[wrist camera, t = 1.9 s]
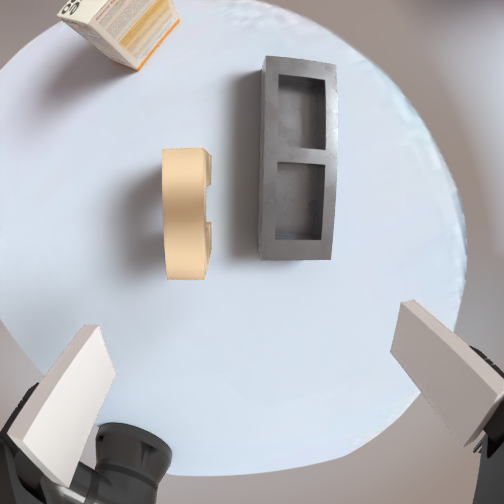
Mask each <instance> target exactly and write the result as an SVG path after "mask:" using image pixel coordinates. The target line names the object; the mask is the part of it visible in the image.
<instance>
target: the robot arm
mask: <svg viewBox="0 0 504 504" xmlns="http://www.w3.org/2000/svg"><path fill="white" fill-rule="evenodd" d="M390 352H391V354H392V355H393V356H394V358H395V359H396V360H397V361H398V363H399V364H400V365H401V367H402V368H403V369H404V370H405V372H406V373H407V374H408V376H409V377H410V378H411V379H412V381H413V382H414V383H415V385H416V386H417V387H418V389H419V390H420V391H421V393H422V394H423V395H424V397H425V398H426V399H427V401H428V402H429V403H430V405H431V406H432V408H433V409H434V410H435V412H436V413H437V414H438V416H439V417H440V418H441V420H442V421H443V423H444V424H445V426H446V427H447V429H448V430H449V431H450V433H451V434H452V436H453V437H454V438H455V440H456V441H457V443H458V444H459V446H460V447H461V448H463V447H465V446H467V445H468V444H470V443H471V442H473V441H474V440H475V439H476V438H477V437H478V436H479V434H480V433H481V431H482V430H484V431H485V432H486V434H485V435H484V437H483V438H482V439H481V440H480V442H479V443H478V444H477V445H476V447H475V448H474V451H473V452H474V453H475V452H476V451H477V450H478V449H479V447H480V446H481V445H482V448H481V449H480V451H479V453H481V459H480V467H479V474H478V480H477V485H476V490H475V495H474V499H473V504H504V373H503V372H502V371H501V370H500V369H499V368H498V367H497V366H496V365H493V362H492V361H490V360H489V359H487V357H486V356H485V355H484V354H483V353H482V352H481V351H479V350H478V349H476V348H474V347H472V346H468V345H467V344H465V343H464V342H463V341H462V340H461V339H460V338H459V337H458V336H456V335H455V334H454V333H453V332H452V331H451V330H450V329H448V328H447V327H446V326H445V325H444V324H443V323H441V322H440V321H439V320H438V319H437V318H435V317H434V316H433V315H432V314H431V313H429V312H428V311H427V310H426V309H425V308H423V307H422V306H421V305H420V304H418V303H417V302H416V301H415V300H410V301H405V302H401V305H400V310H399V315H398V320H397V325H396V329H395V334H394V338H393V342H392V346H391V350H390ZM115 376H116V372H115V369H114V367H113V364H112V362H111V359H110V357H109V354H108V351H107V349H106V346H105V343H104V340H103V337H102V334H101V331H100V328H99V325H84V326H83V327H82V329H81V330H80V331H79V332H78V333H77V335H76V336H75V337H74V338H73V340H72V341H71V342H70V343H69V345H68V346H67V347H66V349H65V350H64V351H63V352H62V354H61V355H60V356H59V358H58V359H57V360H56V362H55V363H54V364H53V366H52V367H51V368H50V370H49V371H48V372H47V374H46V375H45V376H44V378H43V380H42V381H41V382H40V383H36V384H35V385H34V386H33V387H31V388H30V389H29V390H28V391H27V392H26V394H25V396H24V397H23V400H21V401H20V403H19V404H18V407H16V408H15V410H14V411H13V413H12V414H11V416H10V418H9V419H8V421H7V422H6V424H5V425H4V427H3V428H2V430H1V431H0V504H155V503H156V497H157V489H158V484H159V483H160V481H161V479H162V478H163V476H164V475H165V473H166V471H167V470H168V468H169V467H170V464H171V459H172V451H171V449H170V448H169V446H168V445H167V444H166V443H165V442H164V441H162V440H161V439H160V438H158V437H157V436H155V435H153V434H151V433H149V432H147V431H145V430H143V429H140V428H137V427H134V426H130V425H126V424H121V423H108V424H104V425H102V426H101V427H100V428H99V430H98V433H97V436H96V461H97V463H96V467H95V470H93V469H92V468H90V467H88V466H87V465H85V464H83V463H82V462H80V461H79V459H80V456H81V454H82V451H83V449H84V446H85V444H86V442H87V439H88V437H89V434H90V432H91V429H92V427H93V425H94V422H95V420H96V418H97V416H98V413H99V411H100V409H101V407H102V404H103V402H104V400H105V398H106V396H107V393H108V391H109V389H110V387H111V385H112V383H113V381H114V378H115Z"/></svg>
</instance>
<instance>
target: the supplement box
mask: <svg viewBox="0 0 504 504" xmlns="http://www.w3.org/2000/svg"><path fill="white" fill-rule="evenodd" d="M57 17H58V18H59V19H61V20H62V21H63V22H65V23H66V24H67V25H68V26H70V27H71V28H72V29H74V30H75V31H76V32H77V33H79V34H80V35H81V36H83V37H84V38H85V39H86V40H88V41H89V42H90V43H91V44H92V45H94V46H95V47H96V48H97V49H99V50H100V51H101V52H102V53H103V54H105V55H106V56H107V57H108V58H109V59H111V60H113V61H115V62H118V63H120V64H123V65H125V66H128V67H130V68H133V69H135V70H137V71H139V70H140V68H141V67H142V66H143V64H144V63H145V62H146V60H147V59H148V58H149V57H150V55H151V54H152V53H153V52H154V50H155V49H156V48H157V47H158V45H159V44H160V43H161V42H162V41H163V39H164V38H165V37H166V36H167V35H168V33H169V32H170V31H171V30H172V29H173V28H174V27H175V26H176V25H177V23H178V22H179V21H180V20H179V17H178V14H177V11H176V9H175V6H174V3H173V0H69V1H68V2H67V4H66V5H65V6H64V7H63V8H62V10H61V11H60V12H59V13H58V14H57Z"/></svg>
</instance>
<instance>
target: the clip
mask: <svg viewBox="0 0 504 504" xmlns="http://www.w3.org/2000/svg"><path fill="white" fill-rule="evenodd" d="M210 184H211V155H210V154H209V153H208V152H207V151H206V150H205V149H204V148H180V149H162V204H163V230H164V248H165V262H166V274H167V280H204V279H205V274H206V270H207V266H208V262H209V258H210V253H211V249H212V247H211V222H206V186H208V185H210Z"/></svg>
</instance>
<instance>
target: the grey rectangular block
mask: <svg viewBox="0 0 504 504" xmlns="http://www.w3.org/2000/svg"><path fill="white" fill-rule="evenodd" d="M337 150H338V106H337V76H336V65H334V64H329V63H323V62H317V61H310V60H303V59H295V58H287V57H276V56H266V57H265V60H264V63H263V66H262V69H261V116H260V166H259V210H258V252H259V255H260V258H261V260H331V252H332V241H333V229H334V216H335V201H336V182H337Z"/></svg>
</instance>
